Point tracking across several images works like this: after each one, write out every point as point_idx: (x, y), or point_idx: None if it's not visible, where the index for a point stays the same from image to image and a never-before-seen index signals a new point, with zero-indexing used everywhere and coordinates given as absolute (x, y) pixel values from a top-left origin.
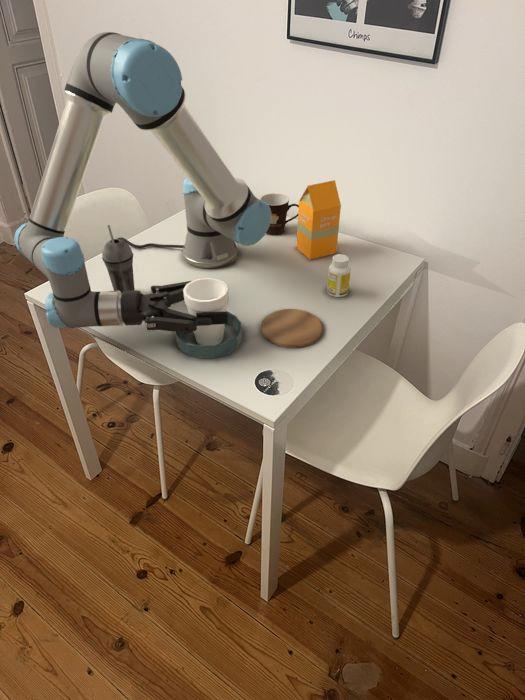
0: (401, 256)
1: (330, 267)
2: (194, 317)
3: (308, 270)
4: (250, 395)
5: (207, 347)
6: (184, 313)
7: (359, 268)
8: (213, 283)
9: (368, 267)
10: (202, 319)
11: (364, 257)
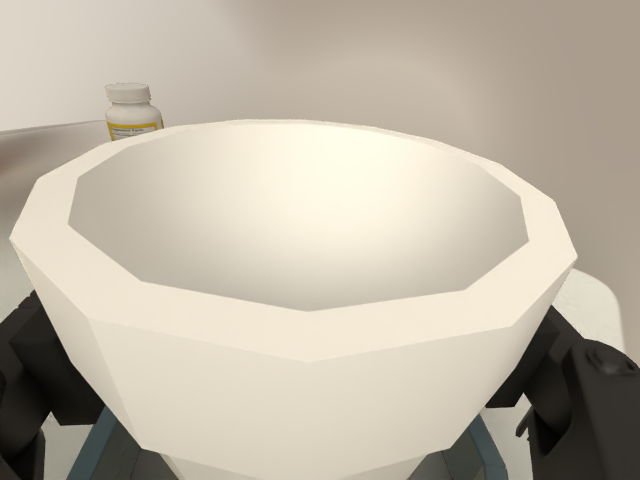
0: (87, 126)
1: (126, 114)
2: (599, 349)
3: (10, 194)
4: (578, 319)
5: (486, 429)
6: (621, 463)
7: (82, 151)
8: (157, 176)
9: (89, 146)
10: (548, 310)
11: (48, 144)
